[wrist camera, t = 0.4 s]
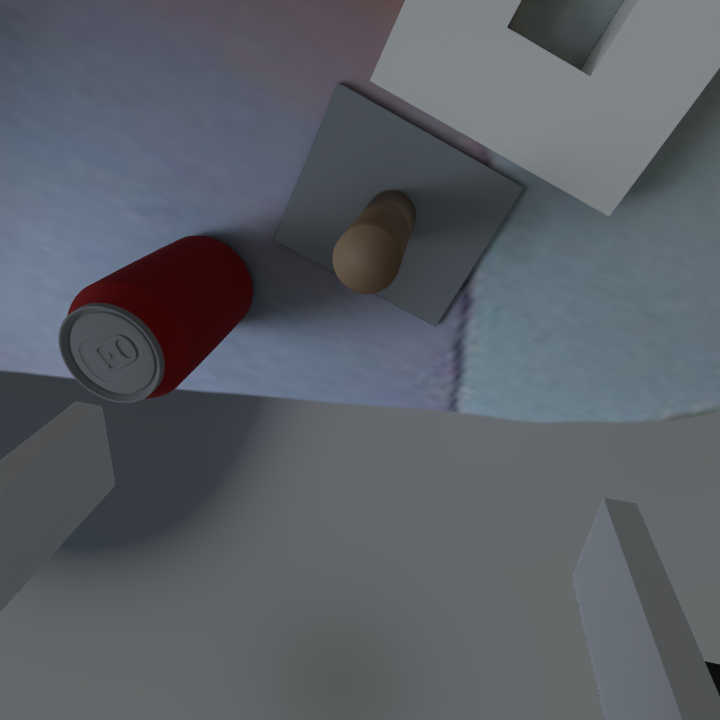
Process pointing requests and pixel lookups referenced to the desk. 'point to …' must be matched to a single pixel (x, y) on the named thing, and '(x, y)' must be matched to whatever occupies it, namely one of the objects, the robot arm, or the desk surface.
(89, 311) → the beverage can
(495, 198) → the mat
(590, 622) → the robot arm
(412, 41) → the hole block
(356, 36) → the desk surface
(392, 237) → the peg
